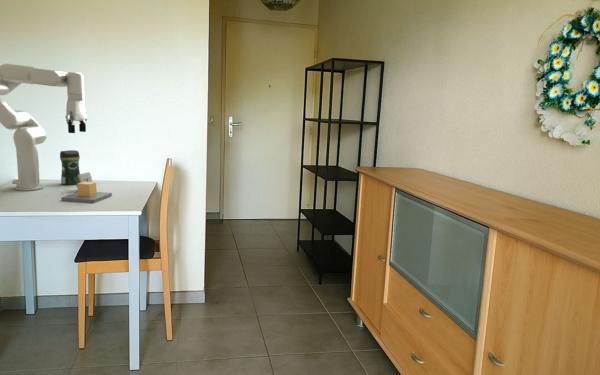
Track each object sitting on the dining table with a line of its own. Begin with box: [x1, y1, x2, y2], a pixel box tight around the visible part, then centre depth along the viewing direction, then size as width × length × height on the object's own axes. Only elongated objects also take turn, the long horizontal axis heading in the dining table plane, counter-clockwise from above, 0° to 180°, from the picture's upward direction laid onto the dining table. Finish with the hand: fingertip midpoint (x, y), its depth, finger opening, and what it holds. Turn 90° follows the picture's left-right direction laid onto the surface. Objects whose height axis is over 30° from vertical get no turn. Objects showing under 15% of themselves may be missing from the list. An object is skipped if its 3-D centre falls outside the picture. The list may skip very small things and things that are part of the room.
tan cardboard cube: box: [76, 181, 97, 197], centre depth 226 cm, size 6×6×6 cm
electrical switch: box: [74, 171, 94, 189], centre depth 243 cm, size 9×5×9 cm, turn 171°
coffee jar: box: [59, 149, 81, 186], centre depth 257 cm, size 10×8×19 cm
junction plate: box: [60, 191, 113, 204], centre depth 226 cm, size 16×17×6 cm
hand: (77, 132), depth 235 cm, fingers open, 9 cm apart
